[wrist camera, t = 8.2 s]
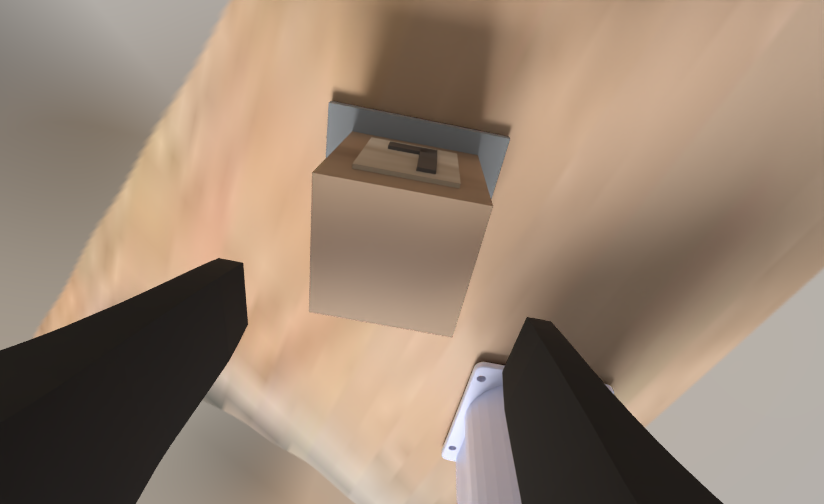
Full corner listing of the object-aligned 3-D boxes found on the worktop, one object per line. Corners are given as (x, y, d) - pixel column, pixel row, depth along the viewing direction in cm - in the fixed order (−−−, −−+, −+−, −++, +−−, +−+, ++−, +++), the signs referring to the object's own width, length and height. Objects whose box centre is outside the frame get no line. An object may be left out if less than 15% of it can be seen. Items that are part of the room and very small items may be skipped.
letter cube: (450, 260, 17) (452, 337, 12) (343, 241, 17) (308, 312, 12) (479, 148, 14) (495, 197, 10) (352, 124, 14) (312, 162, 10)
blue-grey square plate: (463, 279, 18) (464, 284, 17) (323, 252, 17) (320, 257, 17) (508, 136, 14) (510, 138, 14) (331, 100, 14) (328, 102, 14)
